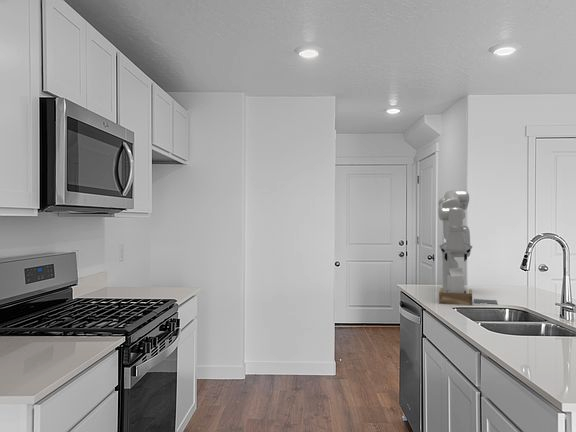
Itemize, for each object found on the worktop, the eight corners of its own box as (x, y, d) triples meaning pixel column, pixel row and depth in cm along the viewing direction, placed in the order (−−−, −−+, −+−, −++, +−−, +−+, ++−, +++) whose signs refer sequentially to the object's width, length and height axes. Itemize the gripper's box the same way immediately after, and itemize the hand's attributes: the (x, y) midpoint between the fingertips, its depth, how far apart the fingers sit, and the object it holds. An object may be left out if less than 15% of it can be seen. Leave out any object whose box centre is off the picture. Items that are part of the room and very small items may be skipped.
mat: (473, 299, 287) (473, 299, 287) (496, 300, 283) (496, 300, 283) (473, 303, 275) (473, 302, 275) (497, 304, 271) (497, 303, 271)
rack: (440, 298, 291) (440, 288, 291) (471, 300, 285) (471, 289, 285) (439, 303, 275) (438, 292, 275) (472, 305, 269) (472, 294, 269)
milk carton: (464, 303, 274) (464, 268, 274) (451, 303, 274) (451, 268, 274) (460, 301, 281) (460, 267, 281) (447, 301, 281) (447, 267, 281)
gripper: (472, 230, 278) (472, 261, 278) (439, 229, 284) (439, 260, 284) (472, 230, 271) (472, 261, 271) (439, 229, 277) (439, 261, 277)
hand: (455, 260), depth 277 cm, fingers open, 9 cm apart
